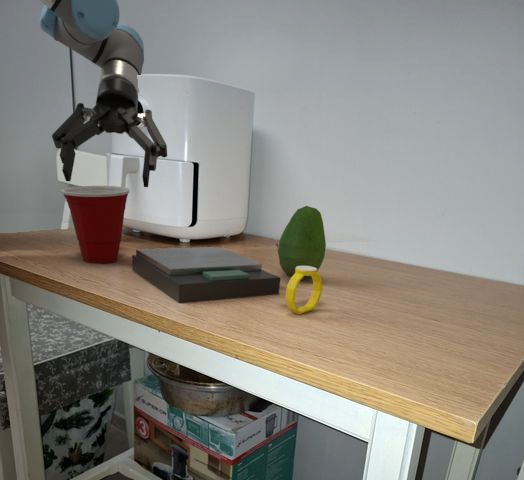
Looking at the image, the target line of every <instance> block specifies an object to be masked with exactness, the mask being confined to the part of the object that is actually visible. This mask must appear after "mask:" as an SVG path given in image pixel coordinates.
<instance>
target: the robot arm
mask: <svg viewBox="0 0 524 480" xmlns="http://www.w3.org/2000/svg"><path fill="white" fill-rule="evenodd" d="M39 2H41V3H42V4H43V8H42V10H41V14H40V15H39V16H40V17H39V22H38V24H39V28H40V29H41V31H43V32H44V33H46V34H47V35H49V36H50V37H51V38H53V40H54V41H56V42H58V43H60V44H62V45H63V46H65V47H67V48H68V49H70V50H71V51H74V52H75V53H76V54H78V55H80V56H81V57H83V58H85V59H87V60H88V61H90V63H92V64H94V65H96V66H97V67H99V68H101V70H100V77H99V83H98V89H97V95H96V101H95V105H94V106H93V108H92V107H91V108H90V107H85V105H84V103H83V102H79V103H77V104H76V107H75V110H74V111H73V112H72V113H71V114H70V116H68V117H67V118H66V120H65V121H63V123H62V124H60V126H59V127H58V128H57V129H56V130H55V131H54V132H53V133H52V135H51V138H52V141H53V144H54V146H55V148H56V149H60V150H59V158H60V161H61V163H62V169H61V171H62V173H63V177H64V180H65V182H71V181H72V175H73V169H74V164H75V159H76V150H75V149H77V148H78V147H81V145H83V144H84V143H86V142H88V140H91V139H92V138H93V137H95V136H100V135H101V134H102V133H104V132H105V133H106V134H112V133H114V134H118V135H123V134H124V133H125V134H127V135H128V137H129V138H130V139H132V140H134V141H135V142H136V143H137V145H139V147H140V148H141V149H142V150H143V151H144V157H143V168H142V176H141V177H142V183H143V187H144V188H149V183H150V174H151V172H152V171H153V172H155V171H156V169H157V161H158V158H159V157H161V158H167V157H168V145H167V143H166V141H165V139H164V137H163V136H162V134H161V131H160V130H159V128H158V127H157V125H156V122H155V121H154V119H153V111H152V110H151V109H146V110H145V111H144V112H142V113H141V112H140V113H139V112H138V106H139V105H138V104H139V97H138V93H139V94H140V90H139V88H138V79H137V75H141V76H142V72H143V67H144V66H143V65H144V62H145V46H144V42H143V38H142V37H141V35H140V34H139V33H138V31H137V30H136V29H134V28H133V27H131V26H130V25H123V24H119V22H120V6H119V3H118V0H39ZM139 122H140V123H141V124H142V125H143V127H144V128H146V130H147V133H148V135H149V136H150V138H151V139H150V138H149V137H148V136H147V134H146V133H144V131H143V130H142V129H141V128H140V127H139V126H138V125H137V124H138V123H139Z"/></svg>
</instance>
